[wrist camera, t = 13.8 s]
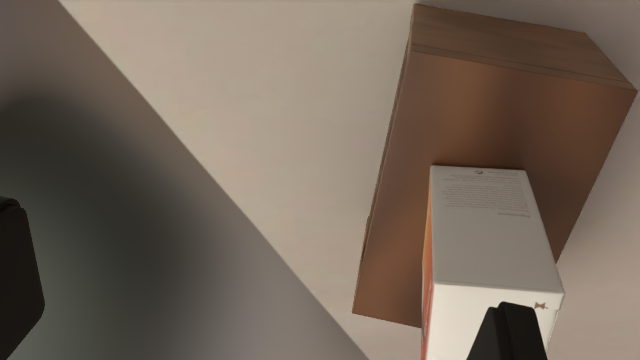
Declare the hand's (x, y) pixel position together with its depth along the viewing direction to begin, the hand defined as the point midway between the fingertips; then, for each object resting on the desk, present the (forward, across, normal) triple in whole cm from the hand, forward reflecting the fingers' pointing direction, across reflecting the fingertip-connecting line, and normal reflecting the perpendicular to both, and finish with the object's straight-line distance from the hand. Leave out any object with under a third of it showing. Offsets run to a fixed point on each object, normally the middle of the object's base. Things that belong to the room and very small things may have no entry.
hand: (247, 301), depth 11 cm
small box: (+21, -9, +11) cm, 25 cm away
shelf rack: (+32, -9, +11) cm, 35 cm away
